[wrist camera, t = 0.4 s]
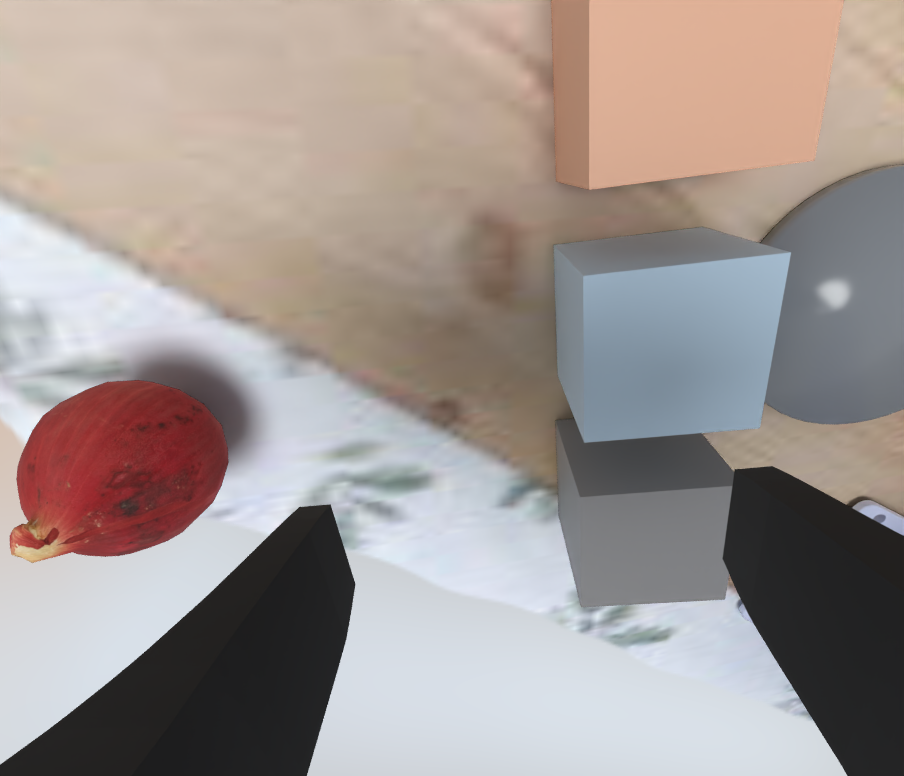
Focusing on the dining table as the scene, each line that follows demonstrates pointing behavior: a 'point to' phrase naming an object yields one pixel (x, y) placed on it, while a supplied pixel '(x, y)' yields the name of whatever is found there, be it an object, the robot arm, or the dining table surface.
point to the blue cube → (666, 331)
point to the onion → (117, 471)
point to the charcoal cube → (643, 517)
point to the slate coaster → (842, 302)
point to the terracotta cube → (687, 86)
